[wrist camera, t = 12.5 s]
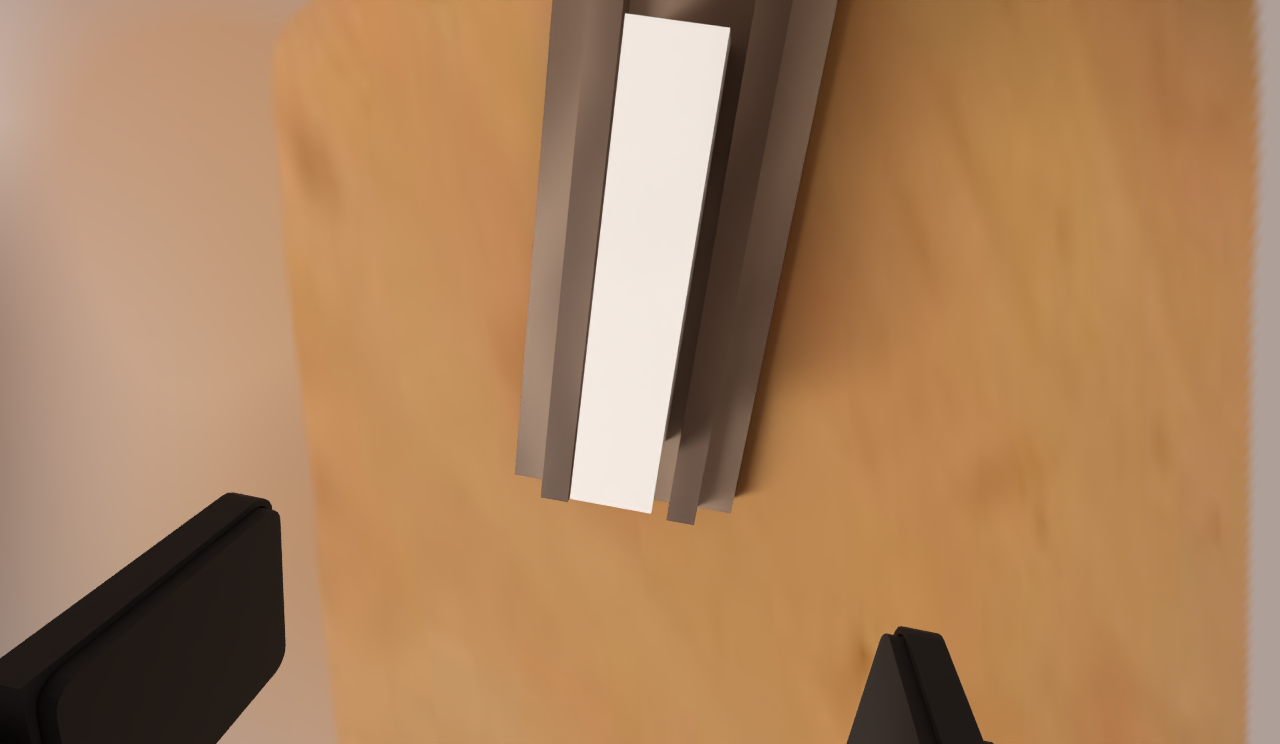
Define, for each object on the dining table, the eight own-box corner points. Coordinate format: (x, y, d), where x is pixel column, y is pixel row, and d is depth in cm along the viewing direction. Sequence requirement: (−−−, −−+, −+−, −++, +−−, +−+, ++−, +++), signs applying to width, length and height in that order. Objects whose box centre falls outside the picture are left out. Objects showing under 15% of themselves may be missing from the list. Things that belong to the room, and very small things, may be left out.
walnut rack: (841, -33, 25) (852, -47, 23) (730, 501, 33) (730, 531, 31) (564, -69, 26) (548, -86, 24) (521, 464, 34) (505, 490, 32)
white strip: (730, 44, 26) (730, 27, 20) (665, 441, 31) (651, 513, 26) (648, 33, 26) (625, 13, 20) (598, 429, 32) (569, 498, 26)
